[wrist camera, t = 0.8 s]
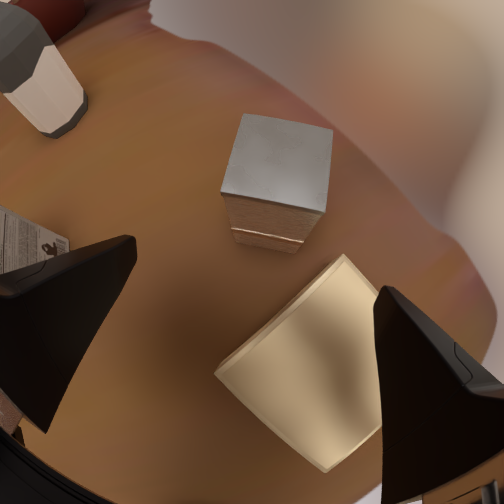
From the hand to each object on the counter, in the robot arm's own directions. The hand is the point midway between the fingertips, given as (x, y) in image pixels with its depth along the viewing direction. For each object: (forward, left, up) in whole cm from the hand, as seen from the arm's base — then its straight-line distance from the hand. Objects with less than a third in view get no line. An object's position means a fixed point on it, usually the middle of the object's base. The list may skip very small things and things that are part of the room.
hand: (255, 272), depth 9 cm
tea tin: (+5, +4, -13) cm, 14 cm away
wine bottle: (-4, +34, -13) cm, 36 cm away
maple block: (0, -8, -13) cm, 15 cm away
